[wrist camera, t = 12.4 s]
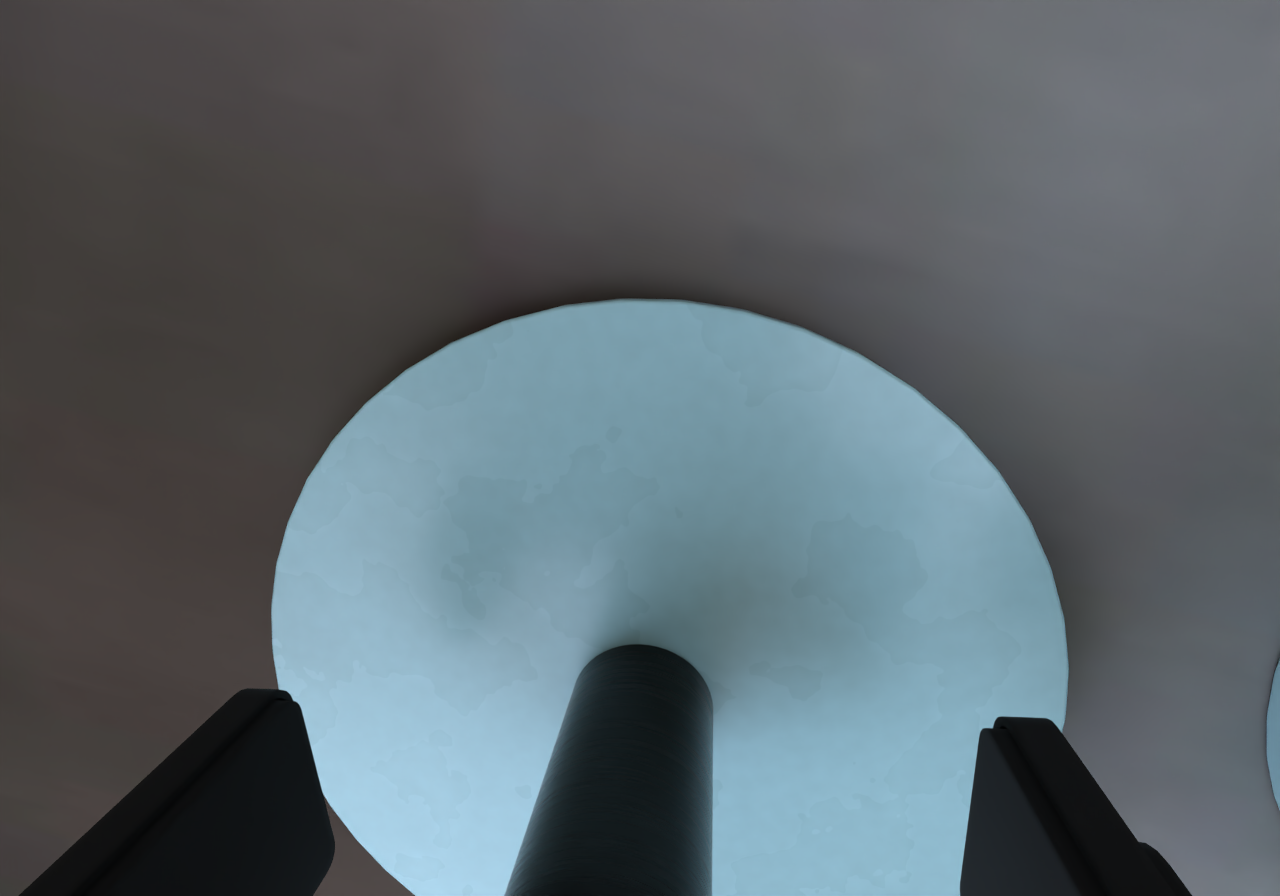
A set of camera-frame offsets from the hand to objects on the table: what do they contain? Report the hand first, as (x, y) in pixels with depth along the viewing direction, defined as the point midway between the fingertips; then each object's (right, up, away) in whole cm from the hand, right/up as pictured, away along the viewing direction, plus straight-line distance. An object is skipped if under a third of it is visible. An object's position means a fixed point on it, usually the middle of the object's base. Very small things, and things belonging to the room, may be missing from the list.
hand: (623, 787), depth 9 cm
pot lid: (0, 0, +3) cm, 4 cm away
